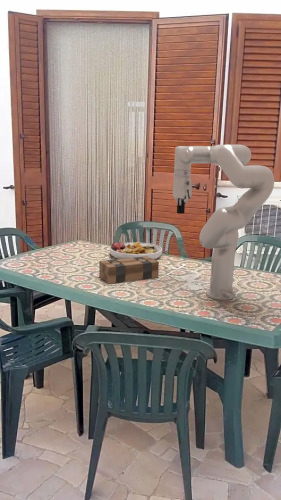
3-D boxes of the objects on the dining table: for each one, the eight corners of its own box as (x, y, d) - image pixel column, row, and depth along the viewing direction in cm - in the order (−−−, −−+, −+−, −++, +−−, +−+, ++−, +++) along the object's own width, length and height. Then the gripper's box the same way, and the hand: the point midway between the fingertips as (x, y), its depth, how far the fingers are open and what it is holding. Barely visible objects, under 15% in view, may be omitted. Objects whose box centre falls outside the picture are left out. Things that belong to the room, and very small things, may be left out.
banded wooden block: (158, 277, 220) (158, 261, 218) (108, 284, 208) (108, 267, 206) (147, 271, 230) (147, 256, 228) (99, 276, 219) (99, 260, 217)
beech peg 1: (121, 278, 215) (121, 263, 213) (113, 279, 213) (113, 264, 212) (117, 276, 219) (117, 261, 217) (110, 277, 217) (110, 261, 215)
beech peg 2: (147, 275, 221) (147, 260, 219) (139, 276, 220) (140, 261, 218) (143, 273, 225) (144, 258, 223) (136, 274, 223) (136, 259, 221)
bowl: (163, 251, 273) (163, 238, 271) (160, 264, 244) (161, 250, 242) (113, 249, 275) (114, 236, 274) (105, 262, 246) (105, 248, 245)
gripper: (198, 174, 202) (196, 215, 206) (180, 172, 215) (179, 210, 219) (183, 175, 199) (182, 216, 203) (167, 172, 212) (165, 211, 216)
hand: (180, 213), depth 211 cm, fingers closed
